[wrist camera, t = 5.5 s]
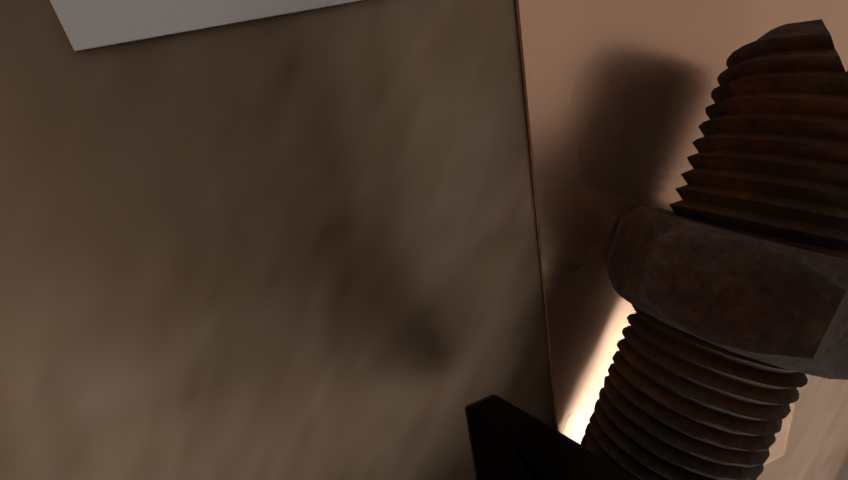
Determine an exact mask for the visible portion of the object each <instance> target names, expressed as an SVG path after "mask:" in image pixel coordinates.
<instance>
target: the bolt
mask: <svg viewBox="0 0 848 480" xmlns="http://www.w3.org/2000/svg"><path fill="white" fill-rule="evenodd" d="M726 65H727V67H728V69H726V70H724V71H723V72H721V73H720V74H719V76H718V77H717V81H718V83H719V85H720V86H718V87H716V88H714V89H713V90H712V91H711V98H712V99H713V101H714V102H715V103H714V104H712V105H710V106H707V107H706V114H707V116H708V117H709V119H710V120H707V121H705V122H703V123H702V124H701V125H699V126H698V127H699V129H700V130H701V132H702V133H703V135H704V137H702V138H699V139H696V140H695V141H694V142H692V143H693V145H694V146H695V148H696V149H697V151H698V152H699V153H697V154H694V155H691V156H688V157H687V159H688V161H689V163H690V164H691V166H692V167H693V169H692V170H689V171H687V172H684V173H682V174H681V176H682V177H683V178H684V180H685V181H686V183H687V185H685V186H682V187H679V188H676V191H677V192H678V194H679V195H680V197H681V198H682V200H680V201H677V202H675V203H672V204H669V205H670V207H671V208H672V210H673V211H674V212H672V211H667V210H663V209H658V208H653V207H648V206H640V207H638V208H636V209H635V210H633V211H631V212H629V213H628V214H626V215H624V216H623V217H621V218H620V221H619V224H618V227H617V230H616V233H615V236H614V239H613V242H612V244H611V247H610V250H609V253H608V256H607V259H606V264H607V270H608V276H609V279H610V282H611V284H612V287H613V288H614V290H615V291H616V292H617V293H618V294H619V295H620V296H621V297H622V298H624V299H625V300H627V301H628V302H630V303H631V304H632V307H633V308H634V310H635V311H636V312H637V313H633V314H630V315H628V317H627V321H628V322H629V324H630V325H631V326H627V327H625V328H623V330H622V334H623V336H624V339H621V340H619V341H618V343H617V347H618V349H619V351H616V353H615V354H614V356H613V357H612V359H613V362H614V363H612V364H611V365H610V367H609V368H608V373H609V375H608V376H606V377H605V378H604V387H603V388H601V389H600V392H599V399H598V400H597V401H596V403H595V407H594V412H593V414H592V415H591V417H590V419H589V421H590V423H588V424H587V427H586V430H585V435H584V436H583V438H582V440H581V445H583V446H584V447H586V448H588V449H589V450H591V451H593V452H595V453H596V454H598V455H600V456H601V457H603V458H605V459H606V460H608V461H610V462H612V463H613V464H615V465H617V466H618V467H620V468H622V469H624V470H625V471H627V472H629V473H630V474H632V475H634V476H635V477H637V478H639V479H641V480H756V478H758V476H759V475H760V474H761V473H762V472H763V469H764V468H763V464H764V463H765V462H766V460H767V459H768V458H769V456H770V453H769V448H770V447H771V446H772V445H773V444H774V443H775V441H776V437H775V434H776V433H778V432H780V430H781V428H782V419H784V418H786V417H787V416H788V414H789V413H790V411H791V409H790V405H789V404H790V403H794V402H796V401H797V400H798V399H799V392H798V389H797V387H803V386H804V385H806V384H807V380H808V379H807V377H806V375H805V374H809V375H814V376H819V377H823V378H828V379H844V380H848V71H847V72H846V71H845V69H844V66H843V64H842V61H841V59H840V56H839V55H838V53H837V51H836V49H835V47H834V44H833V40H832V37H831V35H830V33H829V31H828V29H827V28H826V26H825V24H824V22H823V21H822V19H819V20H812V21H804V22H797V23H789V24H784V25H782V26H779V27H777V28H774V29H772V30H770V31H769V32H767V33H766V34H764V35H763V36H761V37H760V38H759V39H757V40H756V41H754V42H751V43H749V44H746V45H744V46H742V47H740V48H739V49H737V50H735V51H734V52H732V54H731V55H730V56H729V57H728V59H727V61H726Z"/></svg>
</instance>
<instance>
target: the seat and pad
mask: <svg viewBox="0 0 848 480" xmlns="http://www.w3.org/2000/svg"><path fill="white" fill-rule="evenodd" d="M359 1H365V0H50V2H51V4H52V6H53V8H54V10H55V12H56V14H57V16H58V18H59V20H60V22H61V25H62V27H63V29H64V31H65V33H66V35H67V37H68V39H69V41H70V43H71V45H72V47H73V49H74V51H77V52H78V51H83V50H89V49H95V48H100V47H106V46H112V45H117V44H123V43H129V42H134V41H140V40H145V39H151V38H157V37H162V36H168V35H174V34H179V33H185V32H190V31H196V30H202V29H207V28H213V27H219V26H224V25H230V24H236V23H241V22H247V21H252V20H258V19H264V18H269V17H275V16H281V15H286V14H292V13H297V12H303V11H309V10H314V9H320V8H326V7H331V6H337V5H343V4H348V3H354V2H359ZM516 9H517V20H518V31H519V41H520V52H521V62H522V73H523V84H524V94H525V105H526V115H527V126H528V137H529V147H530V158H531V168H532V179H533V190H534V200H535V211H536V221H537V232H538V243H539V253H540V264H541V274H542V285H543V296H544V306H545V317H546V327H547V338H548V349H549V359H550V370H551V381H552V391H553V402H554V412H555V423H556V430H557V431H559V432H560V433H562V434H564V435H566V436H567V437H569V438H571V439H572V440H574V441H576V442H577V443H579V444H581V440H582V438H583V436H584V435H585V430H586V427H587V424H588V423H590V421H589V419H590V417H591V415H592V414H593V412H594V407H595V403H596V401H597V400H598V399H599V392H600V389H601V388H603V387H604V378H605V377H606V376H608V375H609V373H608V368H609V367H610V365H611V364H612V363H614V362H613V359H612V357H613V356H614V354H615V353H616V351H619V349H618V347H617V343H618V341H619V340H621V339H624V336H623V334H622V330H623V328H625V327H627V326H631V325H630V324H629V322H628V321H627V317H628V315H630V314H633V313H637V312H636V311H635V310H634V308H633V307H632V304H631V303H630V302H628V301H627V300H625V299H624V298H622V297H621V296H620V295H619V294H618V293H617V292H616V291H615V290H614V288H613V287H612V284H611V282H610V279H609V276H608V270H607V264H606V259H607V256H608V253H609V250H610V247H611V244H612V242H613V239H614V236H615V233H616V230H617V227H618V224H619V221H620V218H621V217H623V216H624V215H626V214H628V213H629V212H631V211H633V210H635V209H636V208H638V207H640V206H648V207H653V208H658V209H663V210H667V211H672V212H674V211H673V210H672V208H671V207H670V205H669V204H672V203H675V202H677V201H680V200H682V198H681V197H680V195H679V194H678V192H677V191H676V188H679V187H682V186H685V185H687V183H686V181H685V180H684V178H683V177H682V176H681V174H682V173H684V172H687V171H689V170H692V169H693V167H692V166H691V164H690V163H689V161H688V159H687V157H688V156H691V155H694V154H697V153H699V152H698V151H697V149H696V148H695V146H694V145H693V143H692V142H694V141H695V140H696V139H699V138H702V137H704V135H703V133H702V132H701V130H700V129H699V127H698V126H699V125H701V124H702V123H703V122H705V121H707V120H710V119H709V117H708V116H707V114H706V107H707V106H710V105H712V104H714V103H715V102H714V101H713V99H712V98H711V91H712V90H713V89H714V88H716V87H718V86H720V85H719V83H718V81H717V77H718V76H719V74H720V73H721V72H723V71H724V70H726V69H728V67H727V65H726V61H727V59H728V57H729V56H730V55H731V54H732V52H734V51H735V50H737V49H739V48H740V47H742V46H744V45H746V44H749V43H751V42H754V41H756V40H757V39H759V38H760V37H761V36H763V35H764V34H766V33H767V32H769V31H770V30H772V29H774V28H777V27H779V26H782V25H784V24H789V23H797V22H804V21H812V20H819V19H822V21H823V22H824V24H825V26H826V28H827V29H828V31H829V33H830V35H831V37H832V40H833V44H834V47H835V49H836V51H837V53H838V55H839V56H840V59H841V61H842V64H843V66H844V69H845V71H846V72H847V71H848V0H516ZM797 389H799V387H797ZM795 403H796V402H794V403H790V404H789V405H790V409H791V411H790V413H789V414H788V416H787V417H786V418H784V419H782V428H781V430H780V432H778V433H776V434H775V437H776V441H775V443H774V444H773V445H772V446H771V447H770V448H769V453H770V456H769V458H768V459H767V460H766V462H765V463H764V464H763V466H764V465H766V464H768V463H770V462H772V461H773V460H775V459H777V458H779V457H781V456H783V455H784V454H785V449H786V444H787V440H788V435H789V431H790V426H791V421H792V417H793V412H794V408H795Z"/></svg>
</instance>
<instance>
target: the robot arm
mask: <svg viewBox="0 0 848 480" xmlns="http://www.w3.org/2000/svg"><path fill="white" fill-rule="evenodd" d="M465 413H466V419H467V426H468V432H469V439H470V445H471V452H472V459H473V465H474V472H475V478H476V480H641V479H639V478H637V477H635V476H634V475H632V474H630V473H629V472H627V471H625V470H624V469H622V468H620V467H618V466H617V465H615V464H613V463H612V462H610V461H608V460H606V459H605V458H603V457H601V456H600V455H598V454H596V453H595V452H593V451H591V450H589V449H588V448H586V447H584V446H583V445H581V444H579V443H577V442H576V441H574V440H572V439H571V438H569V437H567V436H566V435H564V434H562V433H560V432H559V431H557V430H555V429H554V428H552V427H550V426H549V425H547V424H545V423H543V422H542V421H540V420H538V419H537V418H535V417H533V416H531V415H530V414H528V413H526V412H525V411H523V410H521V409H520V408H518V407H516V406H514V405H513V404H511V403H509V402H508V401H506V400H504V399H502V398H501V397H499V396H497V395H490V396H488V397H486V398H483V399H481V400H479V401H476V402H474V403H472V404H469V405H467V406H466V407H465Z"/></svg>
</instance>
